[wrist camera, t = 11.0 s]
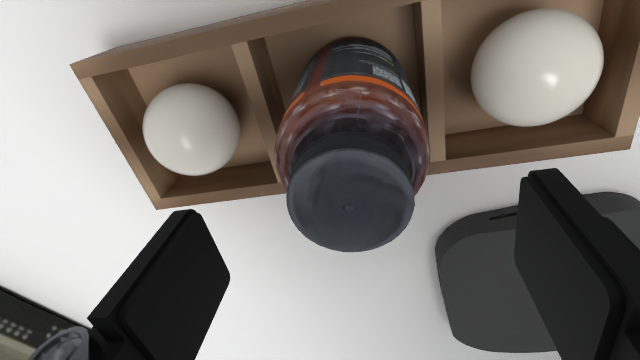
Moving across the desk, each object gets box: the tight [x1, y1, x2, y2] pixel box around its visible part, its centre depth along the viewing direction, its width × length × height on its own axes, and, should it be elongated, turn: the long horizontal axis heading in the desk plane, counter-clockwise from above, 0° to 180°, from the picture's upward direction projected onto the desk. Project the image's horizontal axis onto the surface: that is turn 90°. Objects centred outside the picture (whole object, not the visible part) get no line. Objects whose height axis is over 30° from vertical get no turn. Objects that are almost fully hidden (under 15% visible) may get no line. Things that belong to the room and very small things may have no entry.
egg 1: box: [142, 83, 240, 176], centre depth 19 cm, size 5×5×5 cm
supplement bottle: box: [274, 37, 430, 252], centre depth 15 cm, size 6×6×11 cm
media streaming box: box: [435, 192, 640, 353], centre depth 26 cm, size 15×15×3 cm
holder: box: [70, 0, 640, 210], centre depth 19 cm, size 10×27×4 cm, turn 103°
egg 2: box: [470, 8, 604, 127], centre depth 16 cm, size 5×5×5 cm
